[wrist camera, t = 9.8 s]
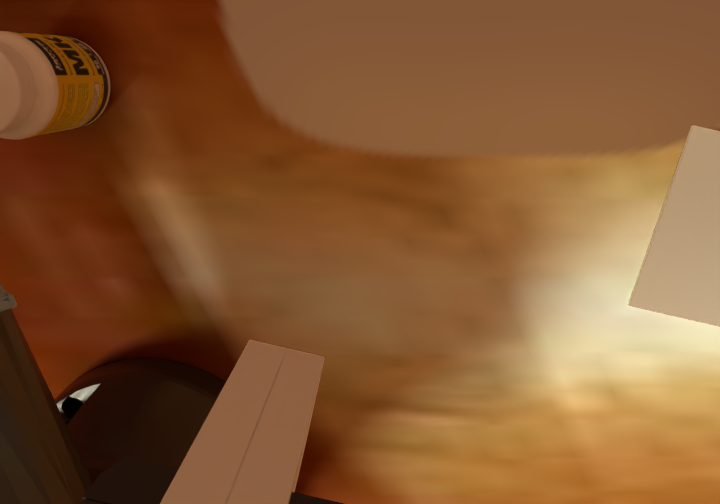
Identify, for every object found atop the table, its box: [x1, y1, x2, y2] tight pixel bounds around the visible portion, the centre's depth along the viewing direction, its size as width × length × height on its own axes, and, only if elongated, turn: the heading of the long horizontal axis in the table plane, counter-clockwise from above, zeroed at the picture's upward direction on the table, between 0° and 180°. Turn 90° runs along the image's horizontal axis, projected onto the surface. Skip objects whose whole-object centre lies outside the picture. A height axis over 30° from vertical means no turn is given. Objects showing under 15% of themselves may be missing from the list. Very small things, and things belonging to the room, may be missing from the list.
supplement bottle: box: [0, 31, 110, 139], centre depth 32 cm, size 5×5×8 cm
